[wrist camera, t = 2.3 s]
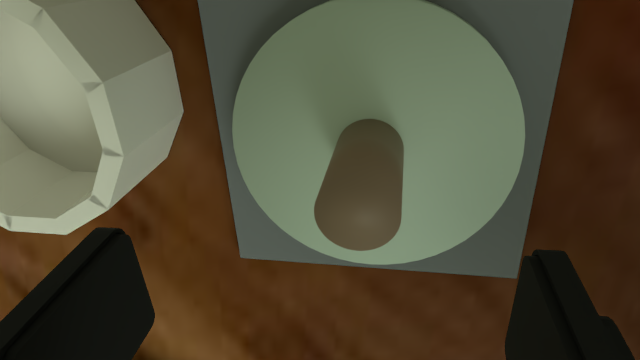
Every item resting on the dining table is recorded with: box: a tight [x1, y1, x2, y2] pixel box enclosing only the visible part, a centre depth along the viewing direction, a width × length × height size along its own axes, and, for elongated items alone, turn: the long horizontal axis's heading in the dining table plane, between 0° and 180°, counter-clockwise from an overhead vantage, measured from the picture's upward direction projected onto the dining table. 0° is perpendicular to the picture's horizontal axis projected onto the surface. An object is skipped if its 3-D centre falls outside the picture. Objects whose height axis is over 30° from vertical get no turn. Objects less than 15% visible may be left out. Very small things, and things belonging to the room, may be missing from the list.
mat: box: [198, 0, 574, 279], centre depth 19 cm, size 14×14×1 cm
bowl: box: [0, 0, 184, 235], centre depth 19 cm, size 10×10×5 cm
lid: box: [232, 0, 525, 265], centre depth 17 cm, size 12×12×6 cm
